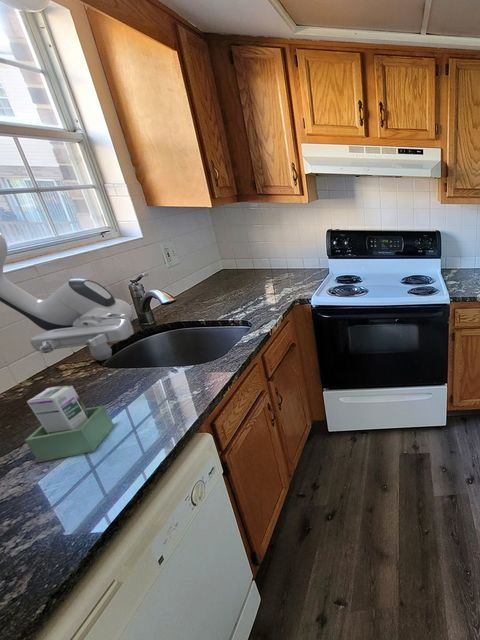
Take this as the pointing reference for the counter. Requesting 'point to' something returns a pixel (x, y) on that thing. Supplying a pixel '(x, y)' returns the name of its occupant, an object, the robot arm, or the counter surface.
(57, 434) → the green open square box
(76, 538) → the counter surface
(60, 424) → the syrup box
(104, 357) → the salt shaker
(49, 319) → the robot arm
